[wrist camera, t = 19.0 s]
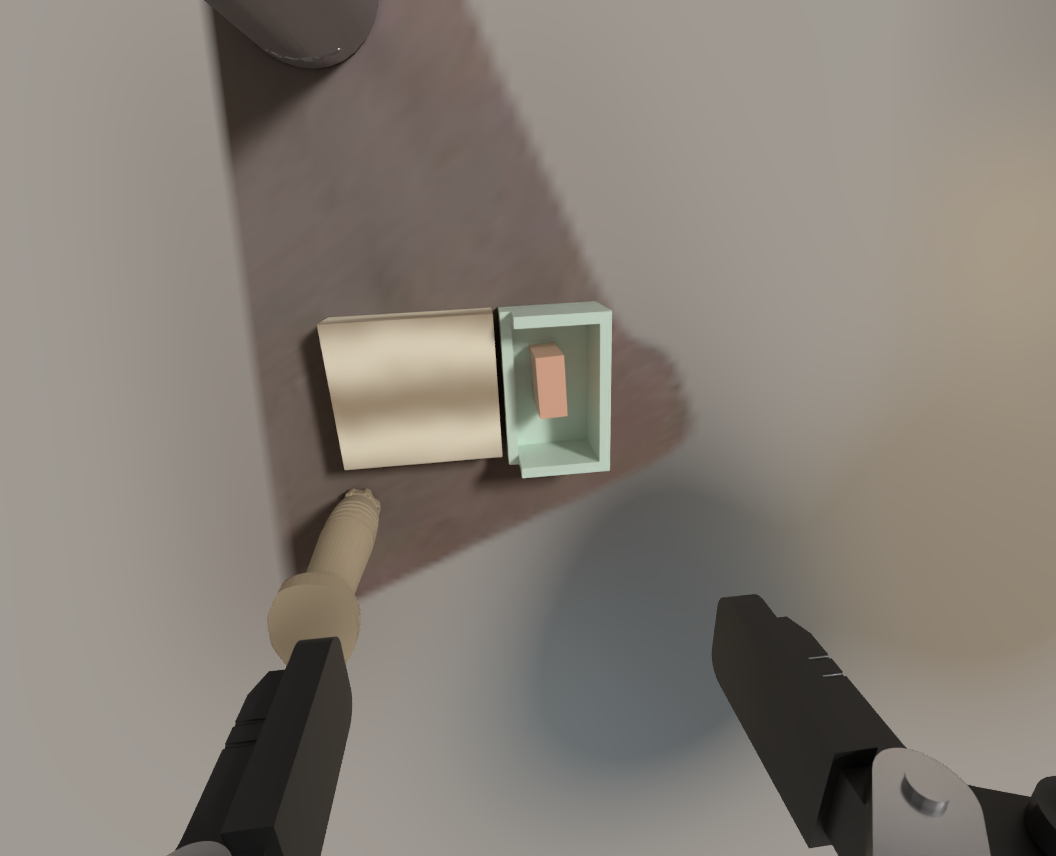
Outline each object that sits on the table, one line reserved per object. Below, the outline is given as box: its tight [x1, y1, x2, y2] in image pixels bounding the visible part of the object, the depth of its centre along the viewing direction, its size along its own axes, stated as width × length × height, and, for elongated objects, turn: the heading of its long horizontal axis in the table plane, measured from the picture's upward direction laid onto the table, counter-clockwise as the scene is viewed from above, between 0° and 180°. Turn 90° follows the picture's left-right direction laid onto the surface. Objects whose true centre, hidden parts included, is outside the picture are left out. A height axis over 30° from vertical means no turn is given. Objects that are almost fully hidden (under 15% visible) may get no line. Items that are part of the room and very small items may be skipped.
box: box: [498, 301, 612, 478], centre depth 40 cm, size 12×8×5 cm, turn 3°
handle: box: [268, 488, 381, 665], centre depth 37 cm, size 5×6×15 cm
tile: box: [529, 342, 568, 419], centre depth 39 cm, size 4×4×2 cm
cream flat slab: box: [317, 308, 502, 470], centre depth 40 cm, size 11×12×3 cm
